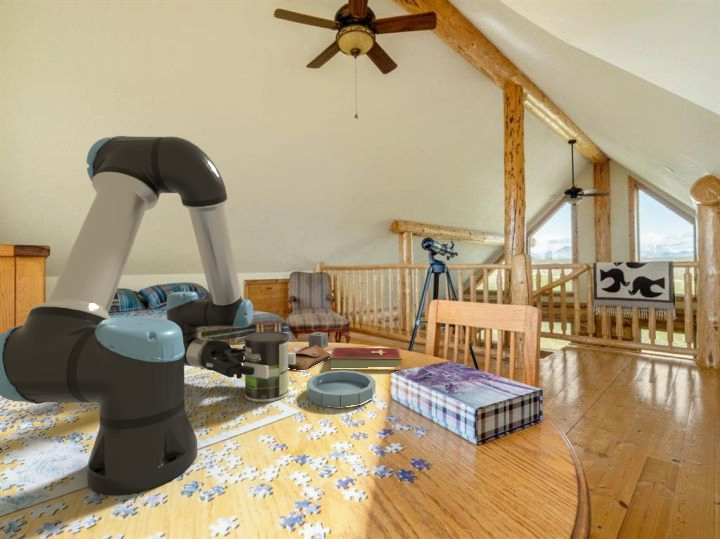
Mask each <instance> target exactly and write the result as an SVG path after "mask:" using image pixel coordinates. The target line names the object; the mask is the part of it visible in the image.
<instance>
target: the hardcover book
mask: <svg viewBox="0 0 720 539" xmlns="http://www.w3.org/2000/svg"><path fill="white" fill-rule="evenodd" d="M331 349H332V350H331V353H330V354H331V355H330V357H329V359H328V360H330V369H331V368H368V367H397V366H401V361H403V357H402V354H401V351H400V348H399V347H339V346H338V347H337V346H335V347H334V346H333V347H332V348H331ZM401 367H402V366H401Z"/></svg>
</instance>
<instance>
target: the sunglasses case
mask: <svg viewBox="0 0 720 539" xmlns="http://www.w3.org/2000/svg"><path fill="white" fill-rule="evenodd" d="M295 353H296V364H295V365H292V364H288V368H290V369H296V370H307V369H309V368H311V367H312V366H314V365H316V364H318V363H320V362H322V361H324V360H326V359H328V358H329V357H330V355H331V353H330V352H328V351H327V350H325V348H324V349H322V348H320V347H319V346H317V344H316V345H315V346H313V347H310V348H309V347H308V348H305V349H302V350H300V351H297V352H295ZM328 360H329V359H328ZM326 361H327V360H326ZM324 362H325V361H324ZM322 363H323V362H322ZM320 364H321V363H320ZM318 365H319V364H318ZM316 366H317V365H316ZM314 367H315V366H314ZM312 368H313V367H312ZM312 368H311V369H312ZM309 370H310V369H309Z"/></svg>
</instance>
